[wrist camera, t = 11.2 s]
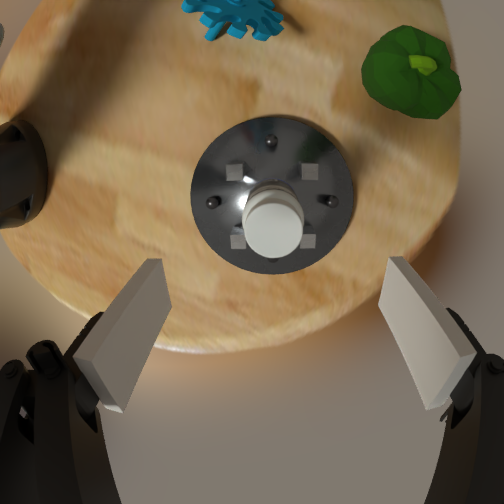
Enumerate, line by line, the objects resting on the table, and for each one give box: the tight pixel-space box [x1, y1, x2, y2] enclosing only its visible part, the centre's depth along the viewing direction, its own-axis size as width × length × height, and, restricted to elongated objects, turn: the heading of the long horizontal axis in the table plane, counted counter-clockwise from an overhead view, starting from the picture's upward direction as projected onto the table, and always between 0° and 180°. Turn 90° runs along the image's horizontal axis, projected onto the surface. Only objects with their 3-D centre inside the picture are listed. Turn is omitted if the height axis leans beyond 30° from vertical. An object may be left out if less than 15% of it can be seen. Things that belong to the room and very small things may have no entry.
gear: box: [181, 0, 284, 41], centre depth 17 cm, size 11×6×10 cm
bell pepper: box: [361, 25, 461, 119], centre depth 16 cm, size 8×8×10 cm
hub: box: [191, 117, 353, 274], centre depth 25 cm, size 16×16×3 cm
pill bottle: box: [242, 178, 304, 258], centre depth 22 cm, size 5×5×8 cm
